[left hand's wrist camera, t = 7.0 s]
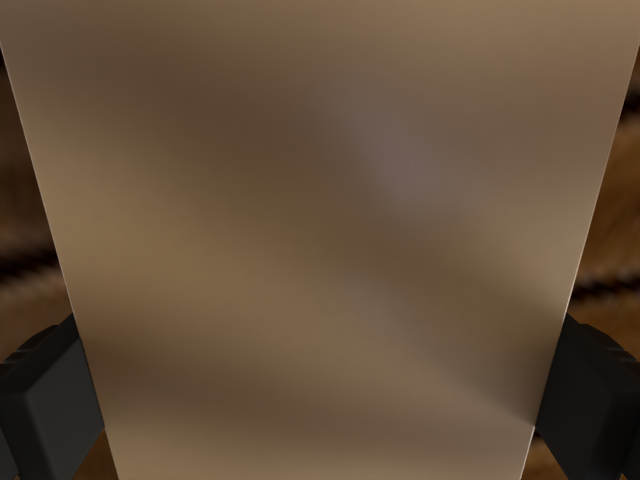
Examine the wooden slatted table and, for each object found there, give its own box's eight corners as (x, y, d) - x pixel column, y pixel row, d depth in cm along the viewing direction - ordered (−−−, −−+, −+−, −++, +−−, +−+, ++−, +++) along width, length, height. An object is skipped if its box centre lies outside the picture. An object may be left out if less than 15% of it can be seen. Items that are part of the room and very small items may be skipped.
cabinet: (142, -271, 12) (-387, -1348, 3) (497, -271, 12) (1022, -1338, 3) (211, 309, 19) (120, 492, 10) (427, 309, 19) (518, 491, 10)
